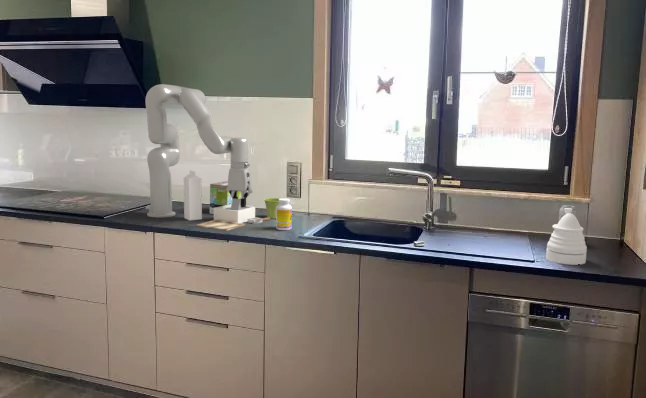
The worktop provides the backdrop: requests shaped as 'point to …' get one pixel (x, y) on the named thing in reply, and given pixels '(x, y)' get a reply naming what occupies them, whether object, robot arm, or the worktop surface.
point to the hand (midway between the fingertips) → (239, 205)
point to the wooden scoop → (257, 220)
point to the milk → (192, 197)
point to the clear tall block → (562, 211)
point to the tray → (220, 225)
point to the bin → (234, 214)
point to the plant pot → (271, 207)
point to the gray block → (236, 204)
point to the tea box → (220, 195)
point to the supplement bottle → (284, 215)
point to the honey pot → (567, 241)
